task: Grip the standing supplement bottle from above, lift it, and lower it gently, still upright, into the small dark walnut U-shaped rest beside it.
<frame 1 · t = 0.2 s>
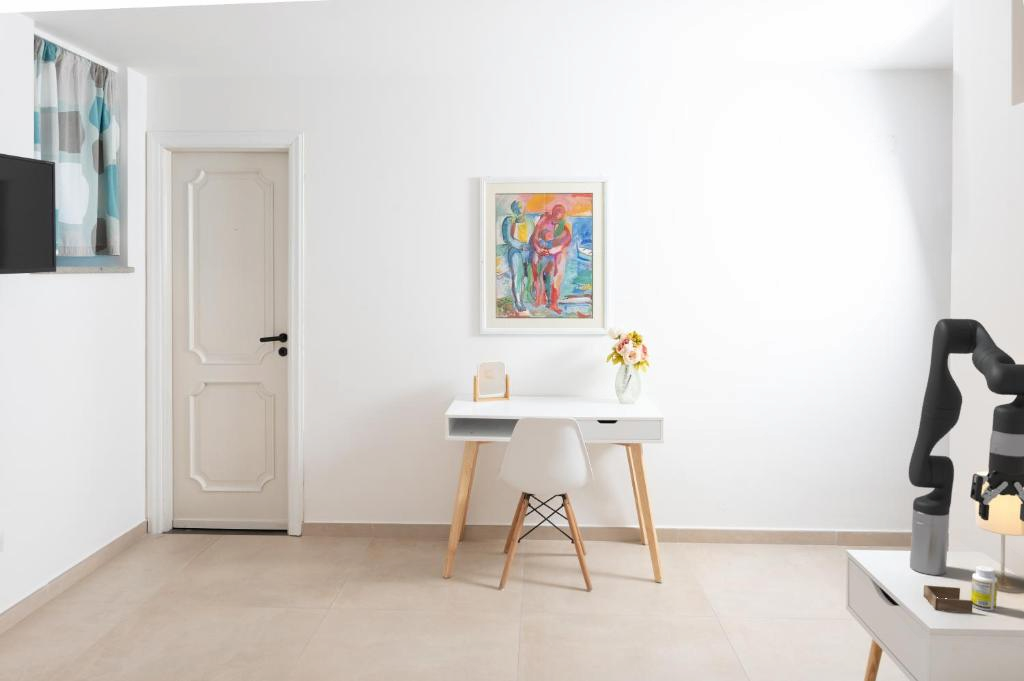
hand: (1003, 520, 181), 28 cm above the table, tool pointing down, fingers open, 8 cm apart
supplement bottle: (982, 607, 201), on the table
walnut u rest: (947, 604, 202), on the table
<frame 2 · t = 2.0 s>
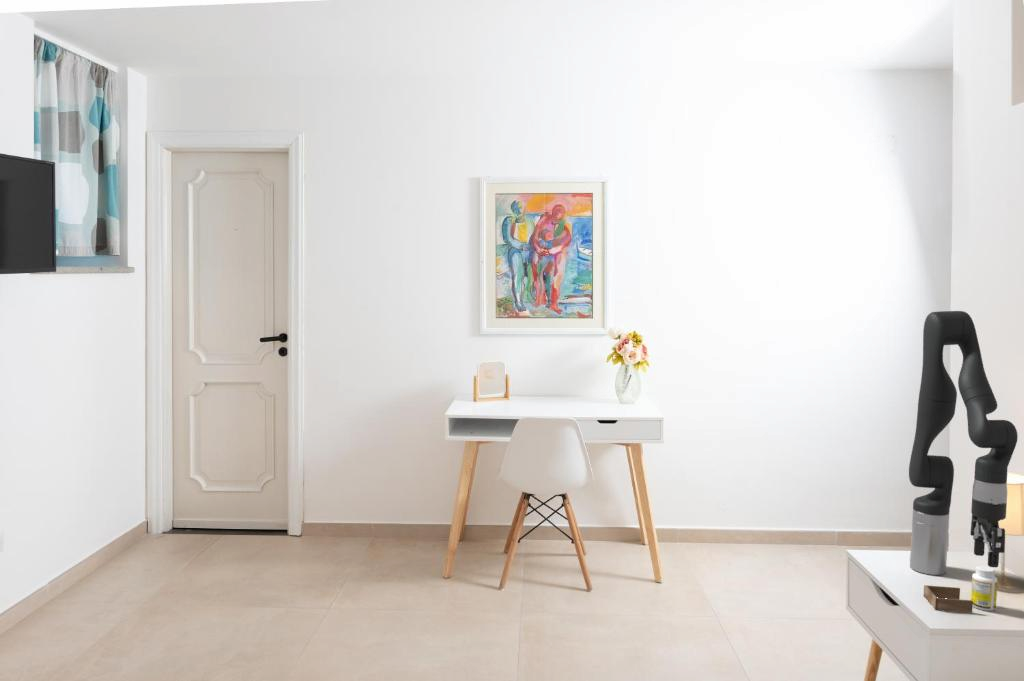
hand: (985, 560, 200), 12 cm above the table, tool pointing down, fingers open, 8 cm apart
nothing on the table moved.
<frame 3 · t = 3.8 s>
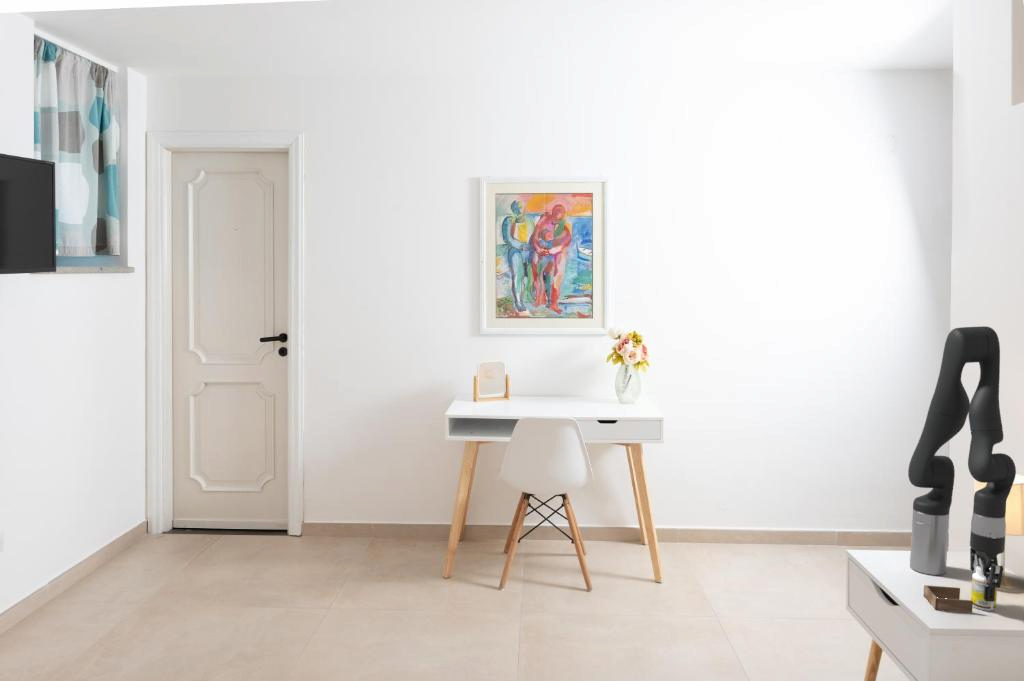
hand: (983, 595, 201), 3 cm above the table, tool pointing down, fingers closed on supplement bottle, 5 cm apart
supplement bottle: (982, 607, 201), on the table, touching gripper
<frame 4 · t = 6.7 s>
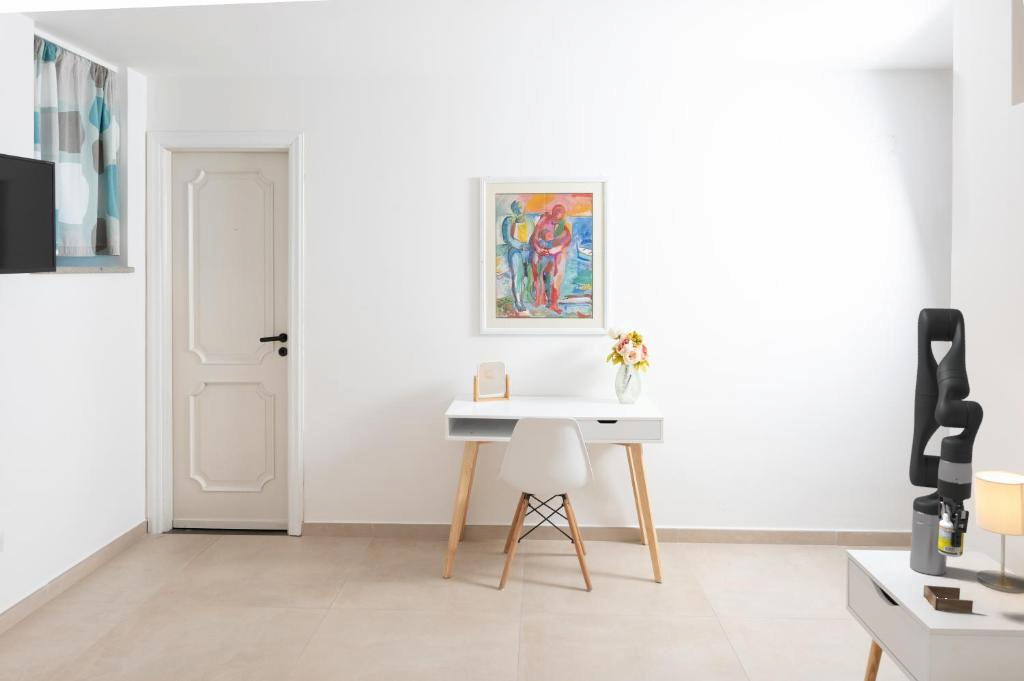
hand: (950, 542, 201), 16 cm above the table, tool pointing down, fingers closed on supplement bottle, 5 cm apart
supplement bottle: (950, 554, 201), point 13 cm above the table, touching gripper
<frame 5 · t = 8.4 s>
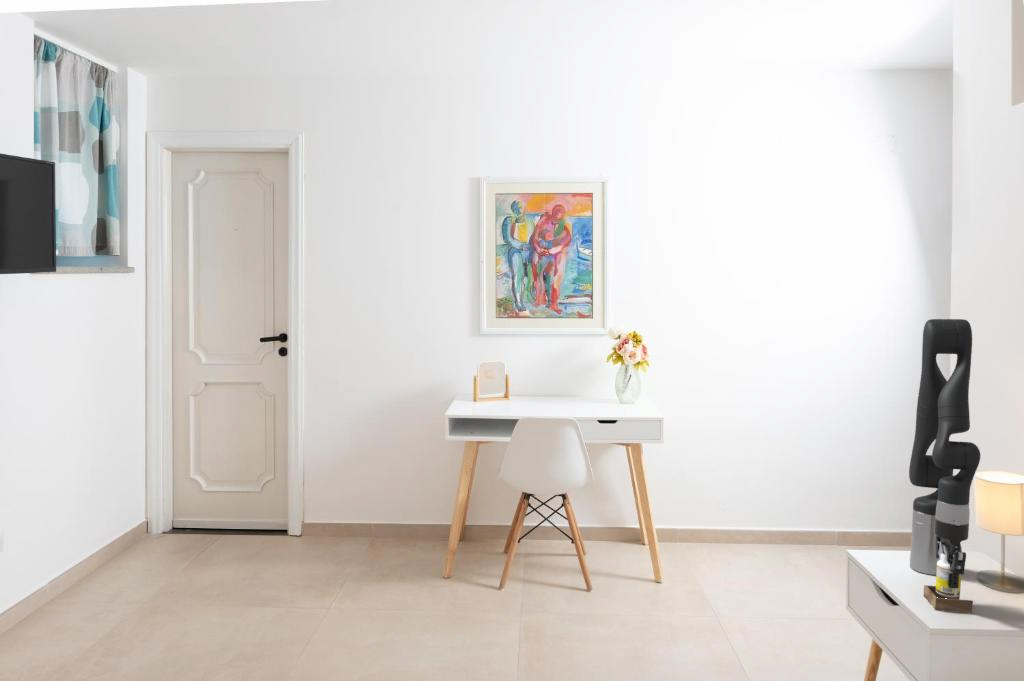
hand: (948, 582, 202), 6 cm above the table, tool pointing down, fingers closed on supplement bottle, 5 cm apart
supplement bottle: (947, 594, 202), point 3 cm above the table, touching gripper
when the fingers open (5 cm above the table, at t = 9.5 s): supplement bottle drops 2 cm, on the table.
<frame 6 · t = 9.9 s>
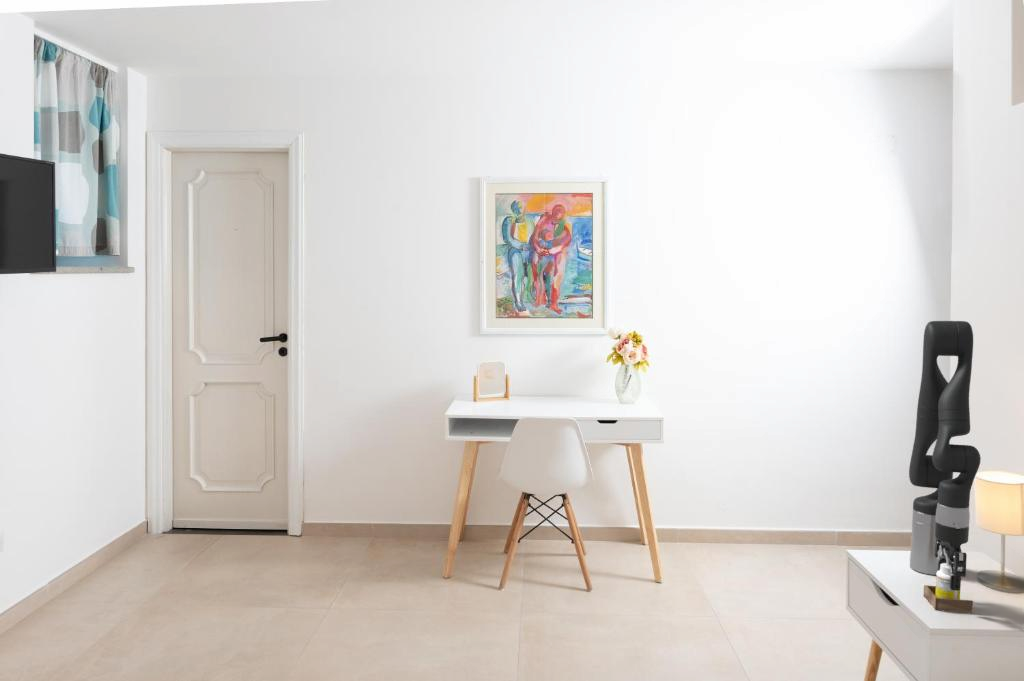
hand: (948, 583, 202), 6 cm above the table, tool pointing down, fingers open, 8 cm apart
supplement bottle: (946, 605, 203), on the table
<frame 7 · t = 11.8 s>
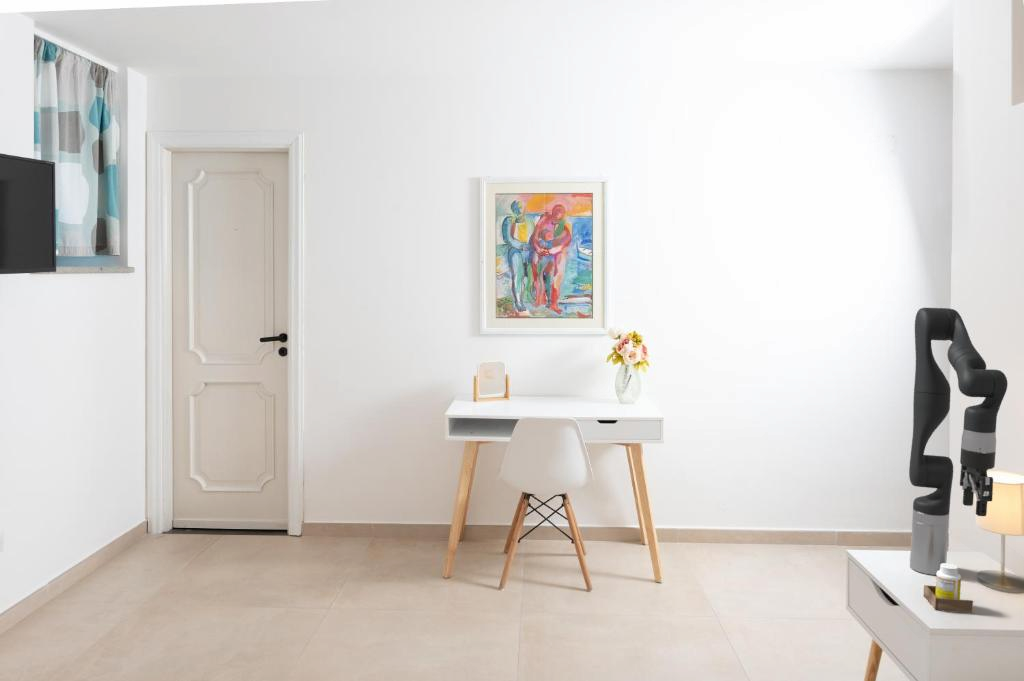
hand: (974, 510, 200), 25 cm above the table, tool pointing down, fingers open, 8 cm apart
nothing on the table moved.
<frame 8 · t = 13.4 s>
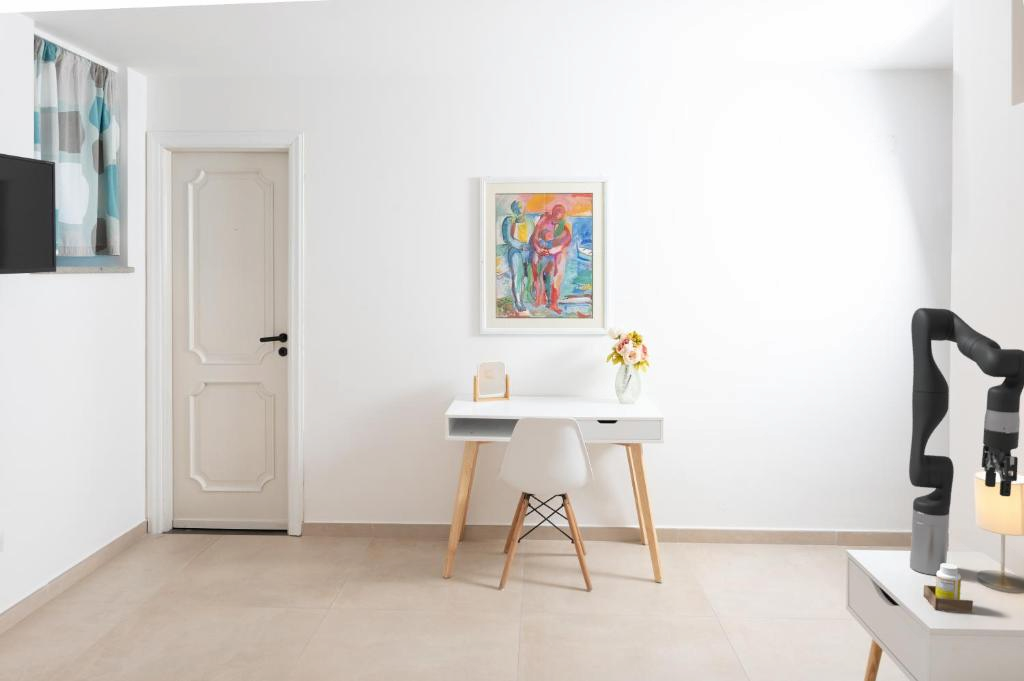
hand: (997, 491, 199), 30 cm above the table, tool pointing down, fingers open, 8 cm apart
nothing on the table moved.
at the end: supplement bottle 0.3 cm off-centre on the walnut u rest, point 0.0 cm above the walnut u rest's base; supplement bottle tilted 0°; the gripper is holding nothing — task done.
